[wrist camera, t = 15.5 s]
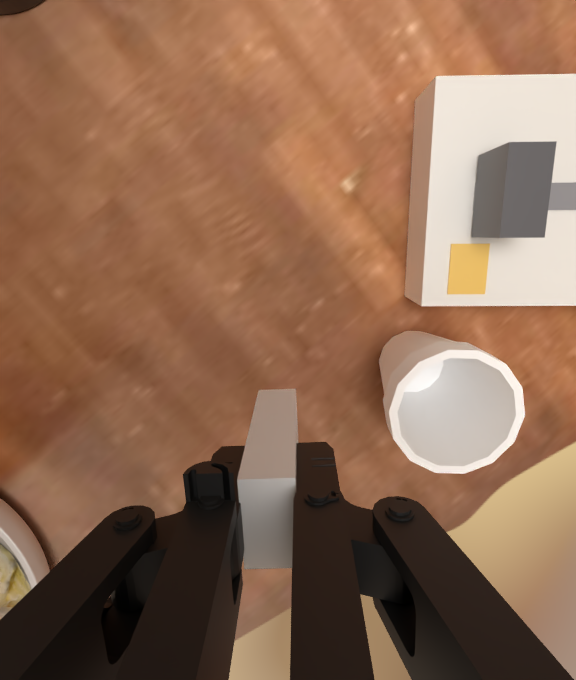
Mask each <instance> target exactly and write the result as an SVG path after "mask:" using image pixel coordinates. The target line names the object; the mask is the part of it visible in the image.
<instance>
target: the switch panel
mask: <svg viewBox="0 0 576 680" xmlns="http://www.w3.org/2000/svg"><path fill="white" fill-rule="evenodd" d="M552 141H557V143H556V151H555V159H554V167H553V175H552V183H551V191H550V199H549V207H548V215H547V223H546V231H545V238H484V237H471V236H472V225H473V213H474V202H475V190H476V179H477V167H478V156H479V155H480V154H483V153H485V152H487V151H490V150H492V149H494V148H497V147H499V146H501V145H504V144H506V143H508V142H552ZM404 296H405V297H407V298H408V299H410V300H412V301H413V302H415V303H417V304H419V305H420V306H576V74H538V75H475V76H436V77H435V78H434V79H433V80H432V81H431V82H430V84H429V85H428V86H427V87H426V88H425V89H424V90H423V92H422V93H421V94H420V95H419V96H418V97H417V98H416V100H415V111H414V129H413V148H412V166H411V184H410V203H409V221H408V240H407V258H406V276H405V295H404Z"/></svg>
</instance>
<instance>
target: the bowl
mask: <svg viewBox="0 0 576 680" xmlns="http://www.w3.org/2000/svg"><path fill="white" fill-rule="evenodd" d="M49 572H50V570H49V566H48V563H47V560H46V557H45V555H44V552H43V550H42V548H41V546H40V544H39V542H38V540H37V539H36V537H35V535H34V534H33V532H32V531H31V529H30V528H29V527H28V525H27V524H26V523H25V521H24V520H23V519H22V518H21V517H20V516H19V515H18V514H17V512H16V511H14V510H13V509H12V508H11V507H10V506H9V505H8V504H7V503H6V502H5V501H3V500H2V499H1V498H0V619H2V618H3V617H4V616H5V615H6V614H7V613H8V612H9V611H10V610H11V609H12V608H13V607H14V606H15V605H16V604H17V603H18V602H19V601H20V600H21V599H22V598H23V597H24V596H25V595H26V594H27V593H28V592H29V591H30V590H31V589H32V588H34V587H35V586H36V585H37V584H38V583H39V582H40V581H41V580H42V579H43V578H44V577H45V576H46V575H47V574H48V573H49Z"/></svg>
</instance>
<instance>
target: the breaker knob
mask: <svg viewBox="0 0 576 680" xmlns="http://www.w3.org/2000/svg"><path fill="white" fill-rule="evenodd" d="M556 143H557V141H552V142H508V143H506V144H504V145H501V146H499V147H497V148H494V149H492V150H490V151H487V152H485V153H483V154H480V155H479V156H478V167H477V179H476V190H475V202H474V213H473V225H472V236H471V237H484V238H545V231H546V223H547V215H548V207H549V199H550V191H551V183H552V175H553V167H554V159H555V151H556Z"/></svg>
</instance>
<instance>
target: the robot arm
mask: <svg viewBox="0 0 576 680" xmlns="http://www.w3.org/2000/svg"><path fill="white" fill-rule="evenodd" d="M42 1H43V0H0V15H4V14H13V13H18V12H22V11H24V10H27V9H29V8H32V7H34V6H36V5H37V4H39V3H40V2H42ZM183 478H184V487H185V496H186V504H185V506H184V509H183V511H181V512H179V513H176V514H173V515H169V516H165V517H161V518H157V519H155V514H154V511H153V510H152V509H151V508H149V507H145V506H129V507H124V508H122V509H119V510H117V511H115V512H113V513H111V514H110V515H109V516H107V517H106V518H105V519H104V520H103V521H102V522H101V523H100V524H99V525H97V526H96V527H95V528H94V529H93V530H92V531H91V532H90V533H89V534H88V535H87V536H86V537H85V538H84V539H83V540H82V541H81V542H80V543H79V544H78V545H77V546H76V547H75V548H74V549H73V550H72V551H71V552H70V553H69V554H68V555H67V556H66V557H64V558H63V559H62V560H61V561H60V562H59V563H58V564H57V565H56V566H55V567H54V568H53V569H52V570H51V571H50V572H49V573H48V574H47V575H46V576H45V577H44V578H43V579H42V580H41V581H40V582H39V583H38V584H37V585H36V586H35V587H34V588H32V589H31V590H30V591H29V592H28V593H27V594H26V595H25V596H24V597H23V598H22V599H21V600H20V601H19V602H18V603H17V604H16V605H15V606H14V607H13V608H12V609H11V610H10V611H9V612H8V613H7V614H6V615H5V616H4V617H3V618H2V619H0V680H228V679H229V672H230V665H231V659H232V652H233V645H234V639H235V632H236V626H237V619H238V612H239V606H240V599H241V592H242V586H243V581H242V569H241V567H242V561H243V557H244V569H271V568H292V607H291V664H290V680H374V674H373V668H372V662H371V656H370V651H369V644H368V639H367V633H366V627H365V621H364V615H363V609H362V603H361V598H360V594H362V595H366V596H370V597H373V601H374V605H375V608H376V609H377V611H378V614H379V615H380V617H381V619H382V621H383V623H384V625H385V627H386V629H387V631H388V633H389V635H390V637H391V639H392V641H393V643H394V645H395V647H396V649H397V651H398V653H399V655H400V657H401V659H402V661H403V663H404V665H405V667H406V669H407V670H408V673H409V675H410V677H411V679H412V680H574V679H573V678H572V677H571V676H570V675H569V673H568V672H567V671H566V670H565V669H564V668H563V667H562V665H561V664H560V663H559V662H558V661H557V660H556V658H555V657H554V656H553V655H552V654H551V653H550V651H549V650H548V649H547V648H546V647H545V646H544V645H543V643H542V642H541V641H540V640H539V639H538V638H537V637H536V635H535V634H534V633H533V632H532V631H531V630H530V628H529V627H528V626H527V625H526V624H525V623H524V622H523V620H522V619H521V618H520V617H519V616H518V615H517V613H516V612H515V611H514V610H513V609H512V608H511V607H510V605H509V604H508V603H507V602H506V601H505V600H504V598H503V597H502V596H501V595H500V594H499V593H498V592H497V591H496V589H495V588H494V587H493V586H492V585H491V584H490V582H489V581H488V580H487V579H486V578H485V577H484V575H483V574H482V573H481V572H480V571H479V570H478V569H477V567H476V566H475V565H474V564H473V563H472V562H471V560H470V559H469V558H468V557H467V556H466V555H465V554H464V552H462V550H461V549H460V548H459V547H458V546H457V544H456V543H455V542H454V541H453V540H452V539H451V538H450V536H449V535H448V534H447V533H446V532H445V531H444V529H443V528H442V527H441V526H440V525H439V524H438V522H437V521H436V520H435V519H434V518H433V517H432V516H431V514H430V513H429V512H428V511H427V510H426V509H425V508H424V507H423V506H422V505H421V504H420V503H418V502H417V501H414V500H412V499H409V498H405V497H399V496H396V497H387V498H383V499H380V500H379V501H378V502H377V503H375V504H374V507H373V510H370V509H365V508H361V507H357V506H355V505H353V504H350V503H349V502H347V501H346V500H345V499H344V497H343V495H342V493H341V491H340V487H339V481H338V475H337V469H336V463H335V457H334V451H333V448H331V447H330V446H329V445H328V444H327V443H326V442H311V443H298V424H297V401H296V389H274V390H259V391H258V395H257V399H256V403H255V407H254V411H253V416H252V420H251V424H250V428H249V432H248V436H247V440H246V445H245V446H225V447H221V448H220V449H219V450H218V451H216V452H215V453H214V454H213V456H212V459H211V461H207V462H202V463H199V464H196V465H193V466H192V467H190V468H188V469H187V470H186V471H185V473H184V474H183ZM110 595H111V596H110ZM109 596H110V598H109ZM108 598H109V599H108Z"/></svg>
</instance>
